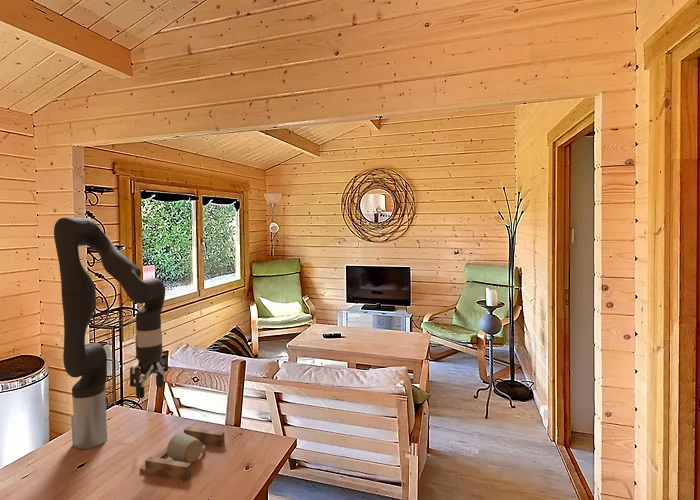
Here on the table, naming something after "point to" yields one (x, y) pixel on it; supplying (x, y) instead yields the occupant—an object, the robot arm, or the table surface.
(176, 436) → the ceramic mug
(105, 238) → the robot arm
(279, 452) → the table surface
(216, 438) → the cradle
